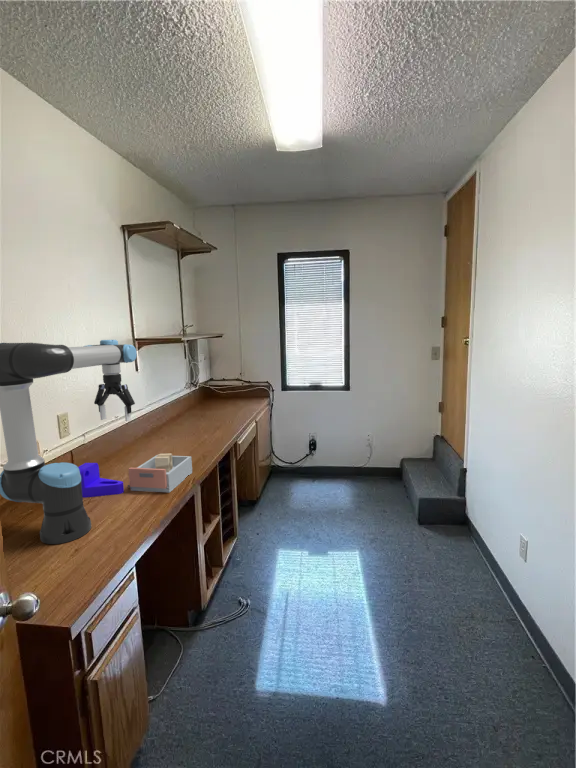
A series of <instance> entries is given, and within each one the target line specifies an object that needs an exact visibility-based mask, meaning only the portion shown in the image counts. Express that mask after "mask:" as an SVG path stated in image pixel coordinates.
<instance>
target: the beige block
mask: <svg viewBox="0 0 576 768" xmlns="http://www.w3.org/2000/svg"><path fill="white" fill-rule="evenodd" d="M157 455H158V456H156V455H155V456H156V457H155V466H156V469H166V472H169V471H171V469H172V468H173V463H172V456H173V453H159V454H157Z"/></svg>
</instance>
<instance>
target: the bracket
mask: <svg viewBox="0 0 576 768" xmlns="http://www.w3.org/2000/svg"><path fill="white" fill-rule="evenodd" d="M77 467H78V468H79V471H80V475H81V483H82V495H83V498H86V499H87V498H95V497H104V496H113V495H121V494H124V492H125V489H124V481H121V480H116V479H109V478H103V477H101V476H100V468H99V467H100V466H99V464H98V462H84V463H83V464H81V465H79V466H77Z"/></svg>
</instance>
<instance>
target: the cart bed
mask: <svg viewBox="0 0 576 768" xmlns="http://www.w3.org/2000/svg"><path fill="white" fill-rule="evenodd" d="M158 455H159V454H156V455H155V456H153V457H151V458H150V459H149V460H146V461H145V462H144V463H142V464H140V465H139V466H137V467H136V468H152V469H156V466H155V457H156V456H158ZM172 463H173V468H172V469H171V471H169V472H166V479H167V488H166V489H165V488H146V487H130V484H128V485H127V488H130V491H133V492H134V491H135V492H152V493H171V492H172V491H174V489H175V488H176V487H178V486H179V485H180V484H181V483H182V482H183V481H184V480H186V479H187V478H188V477H189V476H190V475H191V474H193V465H192V464H193V461H192V456H189V455H188V456H187V455H186V456H185V455H172ZM188 475H189V476H188ZM187 476H188V477H187ZM186 477H187V478H186ZM185 478H186V479H185Z"/></svg>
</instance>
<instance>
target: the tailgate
mask: <svg viewBox="0 0 576 768" xmlns="http://www.w3.org/2000/svg"><path fill="white" fill-rule="evenodd" d="M127 470H128V481H129V482H128V484H129V485H130V487H146V488H165V489H166V488H167V479H166V469H152V468H137V467H129V468H128V469H127ZM130 487H129V488H130Z"/></svg>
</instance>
